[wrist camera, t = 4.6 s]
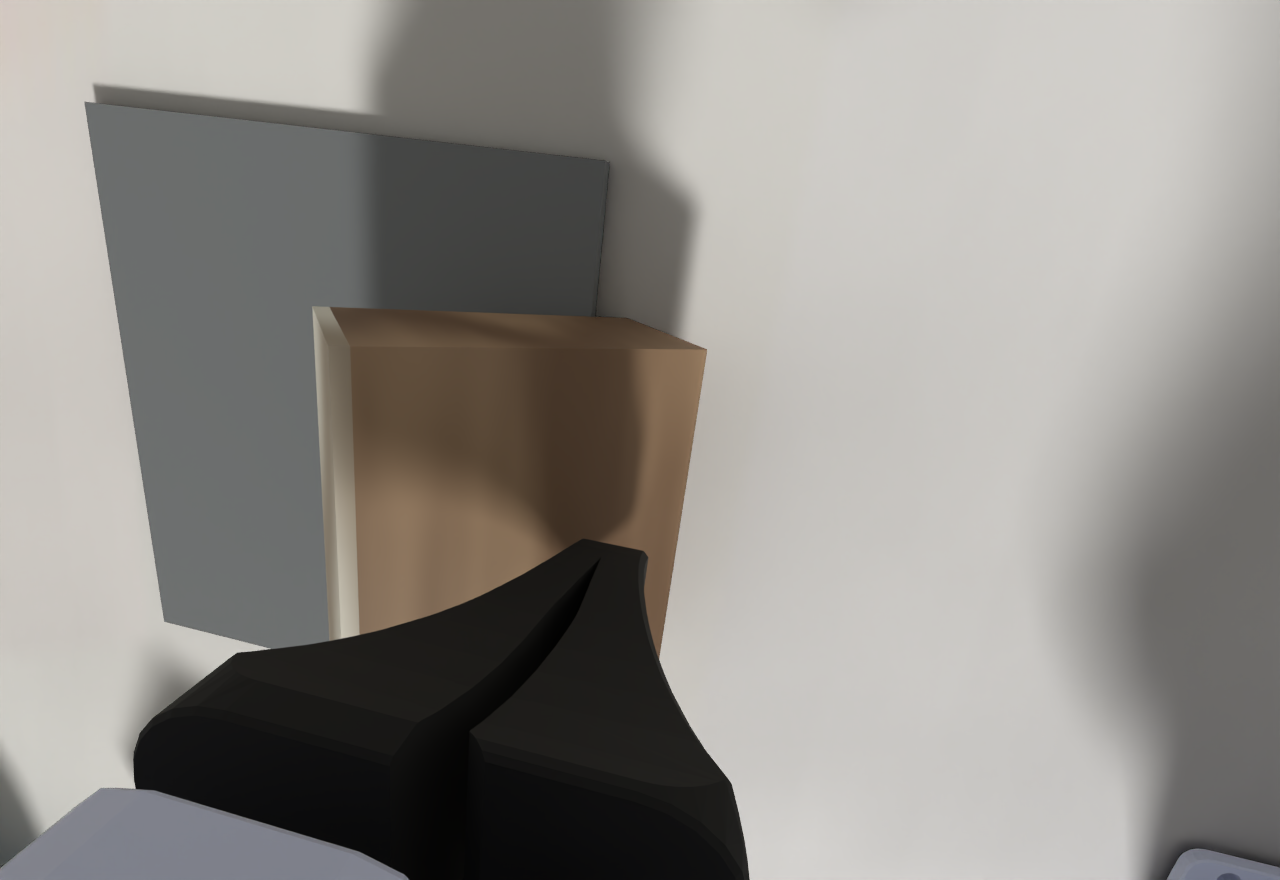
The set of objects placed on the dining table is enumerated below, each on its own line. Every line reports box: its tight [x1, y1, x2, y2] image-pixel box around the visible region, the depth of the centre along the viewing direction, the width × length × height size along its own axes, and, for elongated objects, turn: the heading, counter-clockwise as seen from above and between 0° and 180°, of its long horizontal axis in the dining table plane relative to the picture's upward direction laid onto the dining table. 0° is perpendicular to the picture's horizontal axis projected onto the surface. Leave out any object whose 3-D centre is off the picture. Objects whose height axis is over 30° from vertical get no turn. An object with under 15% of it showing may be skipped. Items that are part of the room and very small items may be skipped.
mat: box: [85, 102, 610, 649], centre depth 18 cm, size 14×16×1 cm
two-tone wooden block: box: [312, 306, 707, 658], centre depth 14 cm, size 4×9×7 cm
